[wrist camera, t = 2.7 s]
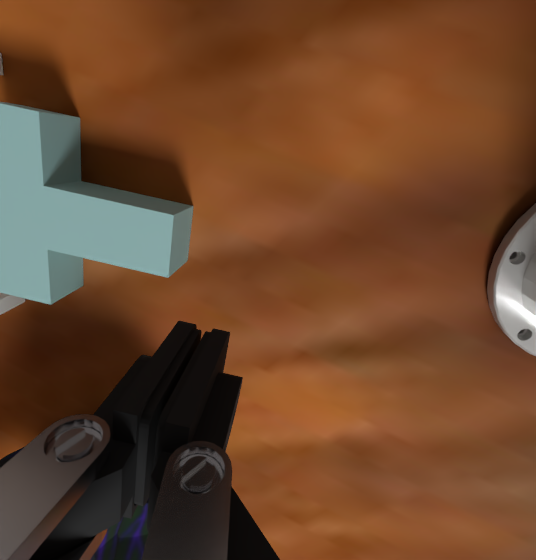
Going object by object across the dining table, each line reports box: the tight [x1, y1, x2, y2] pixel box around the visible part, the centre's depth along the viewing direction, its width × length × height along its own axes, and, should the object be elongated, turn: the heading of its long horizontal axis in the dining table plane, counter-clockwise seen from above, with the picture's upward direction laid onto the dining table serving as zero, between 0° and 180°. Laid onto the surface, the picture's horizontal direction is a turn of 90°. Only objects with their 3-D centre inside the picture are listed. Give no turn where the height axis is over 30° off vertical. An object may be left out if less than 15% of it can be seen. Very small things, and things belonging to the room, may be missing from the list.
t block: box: [0, 102, 193, 305], centre depth 22 cm, size 12×12×4 cm
